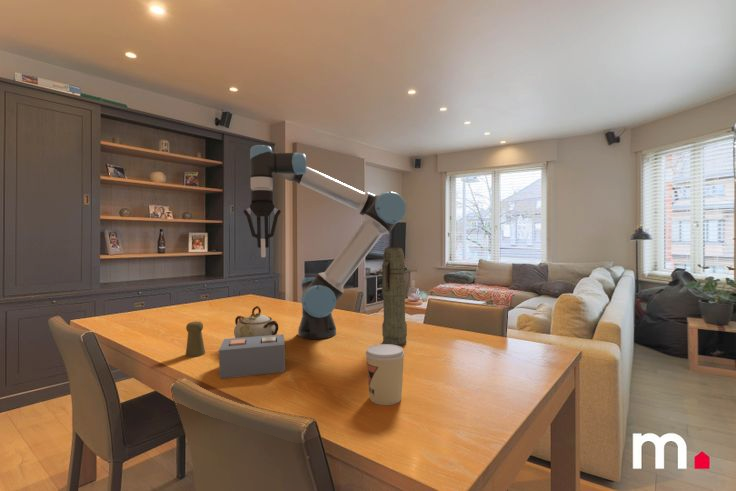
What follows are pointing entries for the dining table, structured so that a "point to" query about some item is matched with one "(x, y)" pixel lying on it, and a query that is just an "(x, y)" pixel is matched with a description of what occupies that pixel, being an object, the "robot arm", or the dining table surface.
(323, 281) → the robot arm
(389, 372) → the cream lidded canister
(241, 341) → the terracotta peg
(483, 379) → the dining table surface
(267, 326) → the sugar bowl
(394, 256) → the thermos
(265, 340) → the cream peg
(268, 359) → the socket block
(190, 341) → the green pepper mill
